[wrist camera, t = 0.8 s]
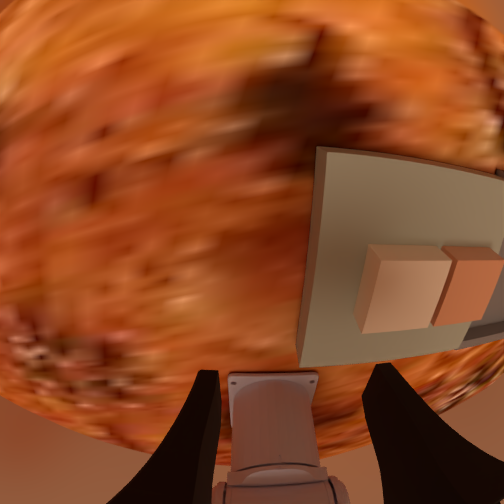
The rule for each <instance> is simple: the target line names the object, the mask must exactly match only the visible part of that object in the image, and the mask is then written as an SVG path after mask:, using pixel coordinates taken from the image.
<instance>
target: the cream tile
mask: <svg viewBox="0 0 504 504" xmlns="http://www.w3.org/2000/svg"><path fill="white" fill-rule="evenodd" d="M451 263H452V260H451V259H450V258H449V257H448V256H447V255H446V254H445V253H444V252H442V251H441V250H440V249H439V248H438V247H437V246H426V245H386V244H368V249H367V254H366V259H365V264H364V269H363V273H362V278H361V282H360V287H359V291H358V295H357V299H356V304H355V308H354V312H353V315H354V318H355V320H356V322H357V324H358V327H359V329H360V331H361V334H368V333H380V332H391V331H401V330H411V329H419V328H428V326H429V323H430V321H431V318H432V316H433V314H434V311H435V308H436V306H437V303H438V301H439V298H440V295H441V293H442V290H443V287H444V284H445V281H446V278H447V275H448V272H449V269H450V266H451Z"/></svg>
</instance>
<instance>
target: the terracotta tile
mask: <svg viewBox="0 0 504 504" xmlns="http://www.w3.org/2000/svg"><path fill="white" fill-rule="evenodd" d="M441 251H442V252H444V253H445V254H446V255H447V256H448V257H449V258H450V259H451V260H452V263H451V266H450V269H449V272H448V275H447V278H446V281H445V284H444V287H443V290H442V293H441V295H440V298H439V301H438V303H437V306H436V308H435V311H434V314H433V316H432V318H431V321H430V323H431V324H432V325H433V327H435V326H443V325H450V324H457V323H463V322H469V321H475V320H481V319H482V316H483V314H484V312H485V310H486V308H487V305H488V303H489V301H490V299H491V296H492V294H493V291H494V289H495V286H496V284H497V281H498V279H499V276H500V273H501V271H502V268H503V265H504V259H503V258H502V257H501V256H499V255H498V254H497V253H496V252H494V251H493V250H492V249H491V248H489V247H462V246H442V247H441Z"/></svg>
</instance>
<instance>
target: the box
mask: <svg viewBox="0 0 504 504" xmlns="http://www.w3.org/2000/svg"><path fill="white" fill-rule="evenodd" d="M496 175H497V176H499V177H501V178H504V171H502V170H499V169H497V170H496ZM498 255H499V256H501V257H502V258H503V259H504V238H503V242H502V245H501V248H500V251H499V254H498ZM503 338H504V265H503V268H502V271H501V273H500V276H499V279H498V281H497V284H496V286H495V289H494V291H493V294H492V296H491V299H490V301H489V303H488V305H487V308H486V310H485V312H484V314H483V316H482V319H481V320H475V321H472V322H471V324H470V326H469V329H468V331H467V333H466V335H465V337H464V339H463V341H462V342H461V344H460V346H459V348H458V349H463V348H467V347H472V346H476V345H480V344H484V343H488V342H492V341H496V340H500V339H503ZM458 349H454V350H458Z"/></svg>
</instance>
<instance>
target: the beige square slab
mask: <svg viewBox="0 0 504 504" xmlns="http://www.w3.org/2000/svg"><path fill="white" fill-rule="evenodd" d="M503 238H504V178H501V177H499V176H497V175H494V174H490V173H486V172H482V171H478V170H473V169H469V168H465V167H460V166H456V165H451V164H446V163H441V162H436V161H430V160H425V159H419V158H413V157H407V156H401V155H394V154H387V153H379V152H372V151H363V150H354V149H344V148H334V147H321V146H317V147H316V163H315V177H314V190H313V202H312V213H311V224H310V234H309V244H308V253H307V262H306V271H305V280H304V288H303V296H302V303H301V311H300V318H299V325H298V332H297V339H296V350H297V356H298V362H299V368H301V367H320V366H335V365H348V364H359V363H368V362H377V361H386V360H393V359H401V358H407V357H414V356H420V355H426V354H432V353H437V352H443V351H448V350H453V349H458V348H459V346H460V344H461V342H462V341H463V339H464V337H465V335H466V333H467V331H468V329H469V326H470V324H471V322H472V321H469V322H463V323H457V324H450V325H443V326H435V327H433V325H432V324H431V323H429V326H428V328H419V329H411V330H401V331H391V332H380V333H368V334H361V331H360V329H359V327H358V324H357V322H356V320H355V318H354V315H353V312H354V308H355V304H356V299H357V295H358V291H359V287H360V282H361V278H362V273H363V269H364V264H365V259H366V254H367V249H368V244H386V245H426V246H437V247H438V248H439V249H440V250H441V247H442V246H462V247H489V248H491V249H492V250H493V251H494V252H496V253H497V254H499V251H500V248H501V245H502V242H503Z"/></svg>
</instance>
